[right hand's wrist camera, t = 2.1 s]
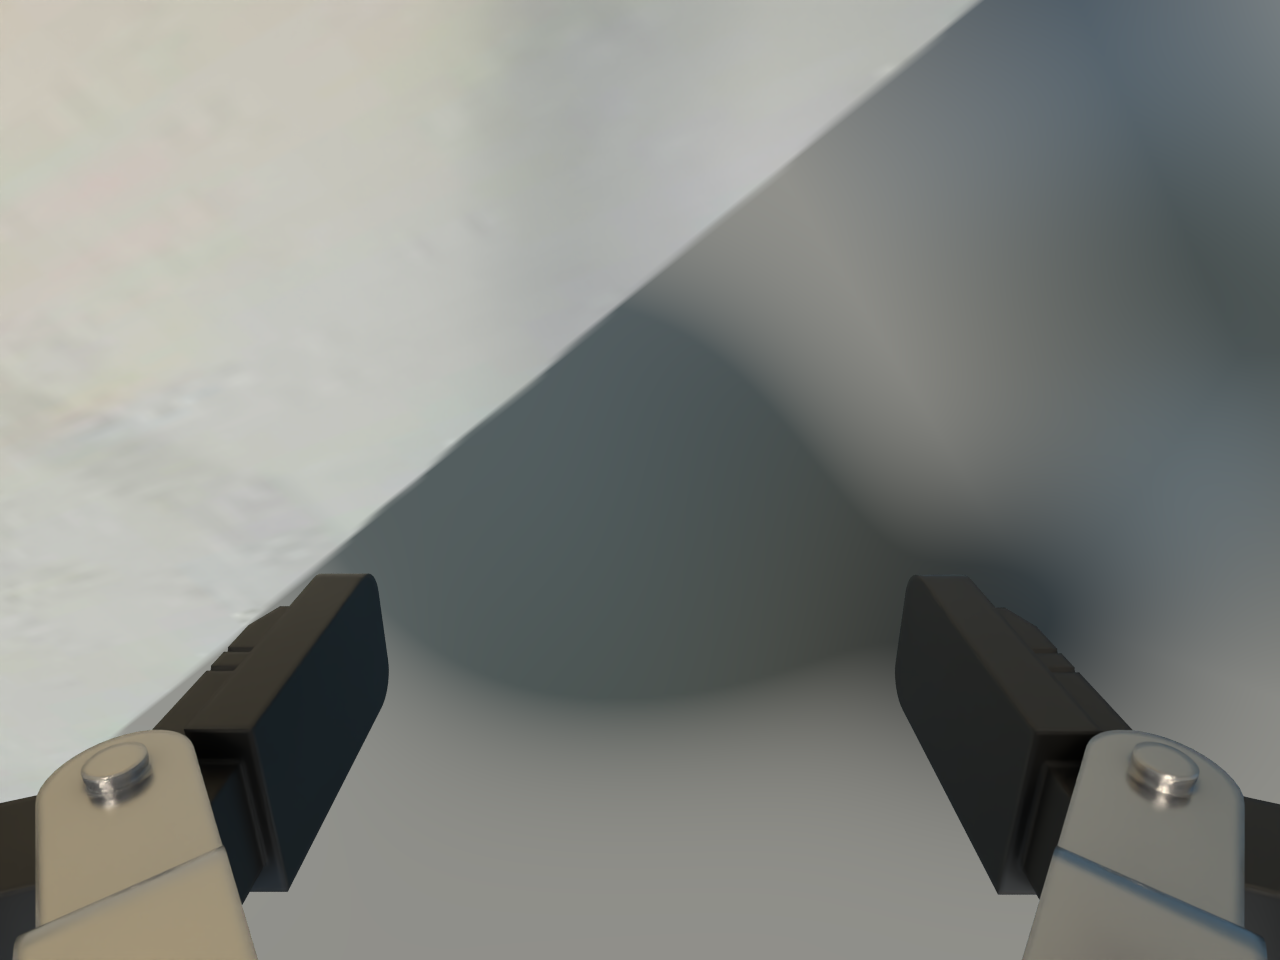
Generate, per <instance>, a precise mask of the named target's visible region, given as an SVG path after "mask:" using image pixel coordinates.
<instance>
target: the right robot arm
mask: <svg viewBox="0 0 1280 960" xmlns="http://www.w3.org/2000/svg"><path fill="white" fill-rule="evenodd" d="M388 676H389V667H388V657H387V650H386V642H385V635H384V628H383V621H382V614H381V607H380V599H379V592H378V587H377V583H376V581H375V579H374V577H373V576H372V575H371V574H318V575H316V576H315V577H314V578H313V580H312V581H311V582H310V583H309V584H308V585H307V586H306V588H305V589H304V590H303V591H302V592H301V594H300V595H299V596H298V597H297V598H296V599H295V600H294V602H293V603H292V604H291V605H290V606H280V607H278V608H276V609H275V610H273V611H272V612H270V613H268V614H266V615H265V616H263V617H262V618H260V619H258V620H256V621H255V622H253V623H251V624H250V625H248V626H247V627H246V628H245V630H244V631H243V632H242V633H241V634H240V635H239V636H238V637H237V638H236V639H235V640H234V641H233V643H232V644H231V645H230V646H229V647H228V652H223V654H222V655H221V656H220V657H219V658H218V659H217V660H216V661H215V662H214V663H213V664H212V665H211V670H210V671H206V672H205V673H204V674H203V675H202V676H201V677H200V678H199V680H198V681H197V682H196V683H195V684H194V685H193V686H192V687H191V688H190V689H189V690H188V691H187V693H186V694H185V695H184V696H183V697H182V698H181V699H180V700H179V701H178V702H177V703H176V705H175V706H174V707H173V708H172V709H171V710H170V711H169V712H168V713H167V714H166V715H165V716H164V718H163V719H162V720H161V721H160V722H159V723H158V724H157V725H156V726H155V727H154V728H153V730H147V731H139V732H134V733H130V734H125V735H122V736H119V737H115V738H112V739H110V740H107V741H104V742H102V743H99V744H97V745H95V746H93V747H91V748H89V749H87V750H85V751H83V752H81V753H80V754H78V755H76V756H75V757H73V758H72V759H70V760H69V761H67V762H66V763H64V764H63V765H62V766H61V767H59V768H58V769H57V770H56V771H55V772H54V773H53V774H52V775H51V776H50V777H49V778H48V779H47V780H46V781H45V783H44V784H43V785H42V787H41V788H40V790H39V792H38V795H37V796H32V797H27V798H23V799H18V800H13V801H8V802H4V803H0V960H258V958H257V954H256V951H255V948H254V944H253V941H252V938H251V934H250V931H249V927H248V924H247V921H246V917H245V914H244V910H243V907H242V904H243V903H244V901H245V899H246V897H247V895H248V894H249V892H288V890H289V888H290V886H291V884H292V882H293V880H294V878H295V876H296V874H297V872H298V870H299V868H300V867H301V865H302V863H303V861H304V859H305V857H306V855H307V853H308V851H309V849H310V847H311V845H312V843H313V841H314V839H315V837H316V835H317V833H318V831H319V829H320V827H321V825H322V823H323V821H324V819H325V817H326V815H327V814H328V812H329V810H330V808H331V806H332V804H333V802H334V800H335V798H336V796H337V794H338V792H339V790H340V788H341V786H342V784H343V782H344V780H345V778H346V776H347V774H348V772H349V770H350V768H351V766H352V764H353V762H354V760H355V759H356V756H357V755H358V753H359V751H360V749H361V747H362V745H363V743H364V741H365V739H366V737H367V735H368V733H369V731H370V729H371V727H372V725H373V723H374V721H375V719H376V717H377V715H378V713H379V711H380V709H381V707H382V705H383V703H384V700H385V696H386V692H387V686H388ZM895 680H896V689H897V694H898V698H899V702H900V704H901V707H902V709H903V711H904V713H905V715H906V717H907V719H908V721H909V723H910V724H911V726H912V728H913V730H914V732H915V734H916V736H917V738H918V740H919V742H920V744H921V746H922V748H923V750H924V752H925V754H926V756H927V758H928V759H929V761H930V763H931V765H932V767H933V769H934V771H935V773H936V775H937V777H938V779H939V781H940V783H941V785H942V787H943V789H944V791H945V792H946V794H947V796H948V798H949V800H950V802H951V804H952V806H953V808H954V810H955V812H956V814H957V816H958V818H959V820H960V822H961V823H962V825H963V827H964V829H965V831H966V833H967V835H968V837H969V839H970V841H971V843H972V845H973V847H974V849H975V851H976V853H977V855H978V856H979V858H980V860H981V862H982V864H983V866H984V868H985V870H986V872H987V874H988V876H989V878H990V880H991V882H992V884H993V886H994V887H995V889H996V891H997V893H998V894H1000V895H1001V894H1002V895H1007V894H1008V895H1010V894H1011V895H1013V894H1014V895H1015V894H1017V895H1018V894H1019V895H1021V894H1023V895H1024V894H1025V895H1028V894H1029V895H1030V894H1033V895H1037V896H1038V898H1039V904H1038V907H1037V911H1036V914H1035V917H1034V921H1033V924H1032V927H1031V931H1030V934H1029V938H1028V941H1027V944H1026V948H1025V951H1024V955H1023V958H1022V960H1280V804H1275V803H1271V802H1266V801H1261V800H1257V799H1252V798H1248V797H1244V796H1243V795H1242V792H1241V790H1240V788H1239V787H1238V785H1237V784H1236V783H1235V781H1234V780H1233V779H1232V778H1231V777H1230V776H1229V775H1228V774H1227V773H1226V772H1225V771H1224V770H1223V769H1222V768H1221V767H1219V766H1218V765H1217V764H1216V763H1214V762H1213V761H1211V760H1210V759H1208V758H1207V757H1205V756H1204V755H1202V754H1200V753H1198V752H1197V751H1195V750H1193V749H1191V748H1189V747H1187V746H1185V745H1183V744H1180V743H1178V742H1176V741H1173V740H1170V739H1168V738H1165V737H1161V736H1158V735H1154V734H1150V733H1146V732H1140V731H1133V730H1132V729H1131V728H1130V727H1129V726H1128V725H1127V724H1126V723H1125V722H1124V720H1123V719H1122V718H1121V717H1120V716H1119V715H1118V714H1117V713H1116V712H1115V711H1114V710H1113V709H1112V707H1111V706H1110V705H1109V704H1108V703H1107V702H1106V701H1105V700H1104V699H1103V698H1102V697H1101V696H1100V695H1099V693H1098V692H1097V691H1096V690H1095V689H1094V688H1093V687H1092V686H1091V685H1090V684H1089V683H1088V682H1087V681H1086V680H1085V678H1084V677H1083V676H1082V675H1081V674H1080V673H1075V670H1074V667H1073V666H1072V664H1071V663H1070V662H1069V661H1068V660H1067V659H1066V658H1065V657H1064V656H1063V655H1062V654H1061V653H1057V648H1056V647H1055V646H1054V645H1053V644H1052V643H1051V642H1050V641H1049V640H1048V639H1047V638H1046V636H1045V635H1044V634H1043V633H1042V632H1041V631H1040V630H1039V629H1038V628H1037V627H1036V626H1034V625H1033V624H1031V623H1029V622H1028V621H1026V620H1024V619H1023V618H1021V617H1019V616H1018V615H1016V614H1014V613H1013V612H1011V611H1009V610H1008V609H1006V608H995V607H994V605H993V604H992V603H991V602H990V601H989V600H988V599H987V597H986V596H985V595H984V594H983V593H982V592H981V590H980V589H979V588H978V587H977V586H976V585H975V584H974V582H973V581H972V580H971V579H970V578H969V577H968V576H966V575H913V576H912V577H911V578H910V580H909V582H908V584H907V588H906V593H905V601H904V608H903V615H902V622H901V629H900V636H899V643H898V650H897V657H896V665H895Z"/></svg>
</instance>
